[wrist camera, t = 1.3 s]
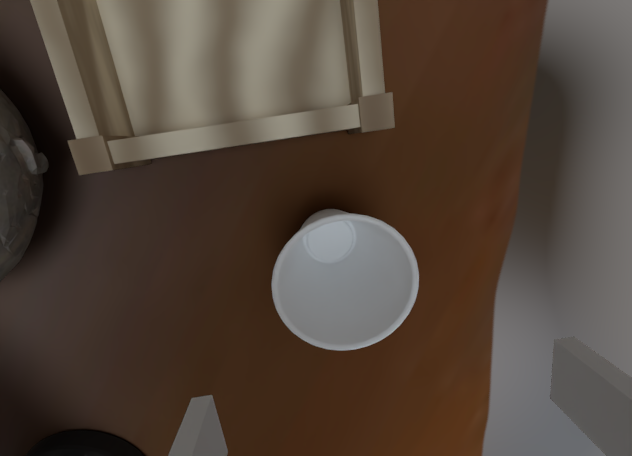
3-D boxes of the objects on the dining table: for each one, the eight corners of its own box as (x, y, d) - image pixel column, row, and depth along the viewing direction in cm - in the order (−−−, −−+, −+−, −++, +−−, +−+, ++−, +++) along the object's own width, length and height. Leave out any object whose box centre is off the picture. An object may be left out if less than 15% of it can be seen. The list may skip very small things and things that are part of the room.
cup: (320, 167, 30) (333, 182, 19) (399, 227, 32) (450, 271, 22) (259, 248, 32) (241, 303, 21) (338, 301, 34) (357, 375, 23)
